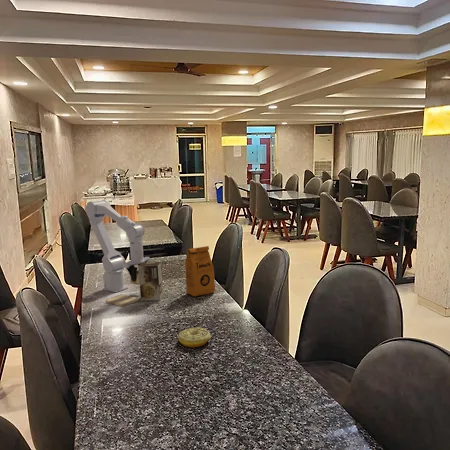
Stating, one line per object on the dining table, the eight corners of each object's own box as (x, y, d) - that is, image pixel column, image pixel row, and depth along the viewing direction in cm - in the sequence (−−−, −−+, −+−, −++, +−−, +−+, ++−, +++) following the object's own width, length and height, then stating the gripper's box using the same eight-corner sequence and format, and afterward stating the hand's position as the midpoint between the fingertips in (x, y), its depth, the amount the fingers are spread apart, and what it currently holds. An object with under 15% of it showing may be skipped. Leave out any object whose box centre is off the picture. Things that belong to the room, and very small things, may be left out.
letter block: (130, 283, 189) (130, 272, 188) (138, 280, 193) (138, 269, 192) (138, 284, 186) (138, 274, 186) (146, 282, 190) (146, 271, 190)
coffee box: (163, 296, 186) (161, 261, 184) (160, 300, 180) (158, 265, 177) (144, 295, 187) (142, 261, 185) (140, 300, 181) (137, 265, 178)
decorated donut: (216, 341, 140) (216, 330, 139) (193, 352, 132) (193, 341, 131) (195, 332, 147) (195, 322, 146) (172, 342, 139) (172, 332, 138)
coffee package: (217, 294, 187) (216, 247, 183) (192, 299, 181) (190, 250, 177) (208, 288, 195) (206, 243, 192) (184, 292, 190) (182, 246, 186)
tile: (105, 302, 180) (105, 300, 180) (121, 296, 187) (121, 294, 187) (123, 306, 174) (123, 304, 174) (138, 300, 181) (138, 298, 181)
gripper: (131, 255, 179) (133, 285, 182) (154, 248, 191) (155, 276, 193) (120, 253, 183) (122, 282, 185) (143, 247, 195) (144, 274, 197)
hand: (138, 279), depth 190 cm, fingers closed on letter block, 5 cm apart
